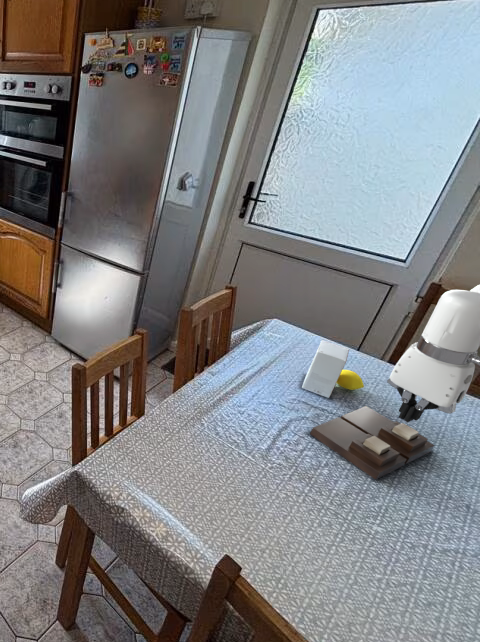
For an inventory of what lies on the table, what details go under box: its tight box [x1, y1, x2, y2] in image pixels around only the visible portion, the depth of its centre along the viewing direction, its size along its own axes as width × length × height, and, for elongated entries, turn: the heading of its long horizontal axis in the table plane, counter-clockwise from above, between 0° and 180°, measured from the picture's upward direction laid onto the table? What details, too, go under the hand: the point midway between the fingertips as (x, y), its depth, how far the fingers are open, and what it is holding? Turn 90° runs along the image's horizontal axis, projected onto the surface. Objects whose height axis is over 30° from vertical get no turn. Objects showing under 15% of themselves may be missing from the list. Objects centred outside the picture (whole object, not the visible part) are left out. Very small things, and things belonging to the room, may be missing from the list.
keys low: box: [340, 405, 435, 465], centre depth 102 cm, size 14×10×4 cm
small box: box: [301, 339, 350, 399], centre depth 117 cm, size 8×6×13 cm
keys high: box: [309, 416, 407, 480], centre depth 99 cm, size 14×10×4 cm
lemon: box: [336, 369, 365, 391], centre depth 118 cm, size 7×5×5 cm
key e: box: [363, 436, 390, 455], centre depth 95 cm, size 3×3×2 cm
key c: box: [392, 422, 420, 441], centre depth 98 cm, size 3×3×2 cm
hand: (406, 418), depth 90 cm, fingers closed
